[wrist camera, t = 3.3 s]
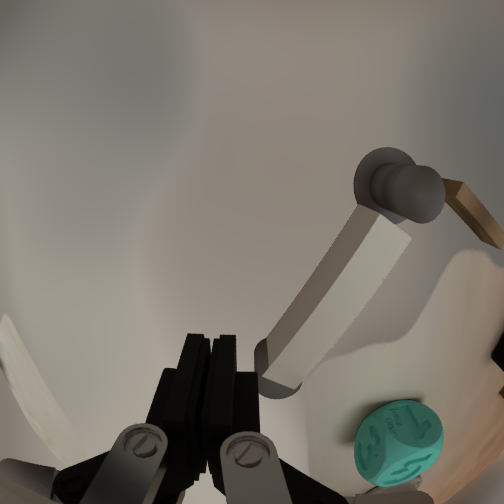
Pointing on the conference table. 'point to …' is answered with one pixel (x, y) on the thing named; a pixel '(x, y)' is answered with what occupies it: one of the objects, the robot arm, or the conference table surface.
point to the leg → (328, 302)
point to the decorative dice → (398, 443)
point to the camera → (499, 353)
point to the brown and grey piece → (418, 194)
